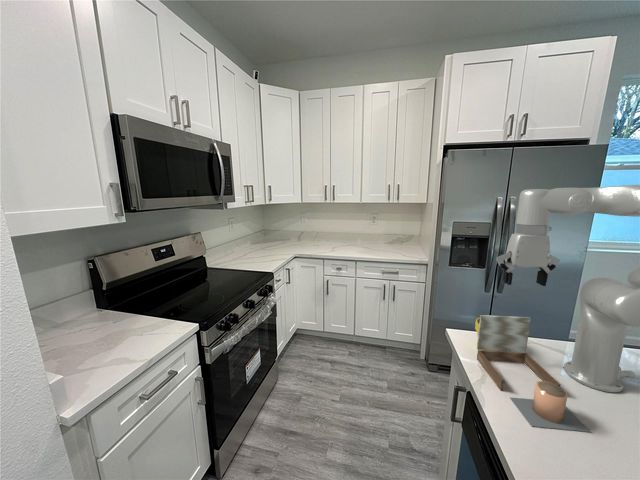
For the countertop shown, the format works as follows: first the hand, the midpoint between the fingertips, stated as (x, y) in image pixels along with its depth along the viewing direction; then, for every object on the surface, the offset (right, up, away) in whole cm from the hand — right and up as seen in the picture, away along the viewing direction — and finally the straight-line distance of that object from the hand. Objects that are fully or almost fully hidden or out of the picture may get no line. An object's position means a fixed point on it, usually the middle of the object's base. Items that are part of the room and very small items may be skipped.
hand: (523, 284), depth 80 cm
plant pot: (-1, -26, +14) cm, 30 cm away
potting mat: (-5, -31, -14) cm, 35 cm away
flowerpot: (-5, -31, -14) cm, 35 cm away
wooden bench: (-3, -29, 0) cm, 29 cm away
